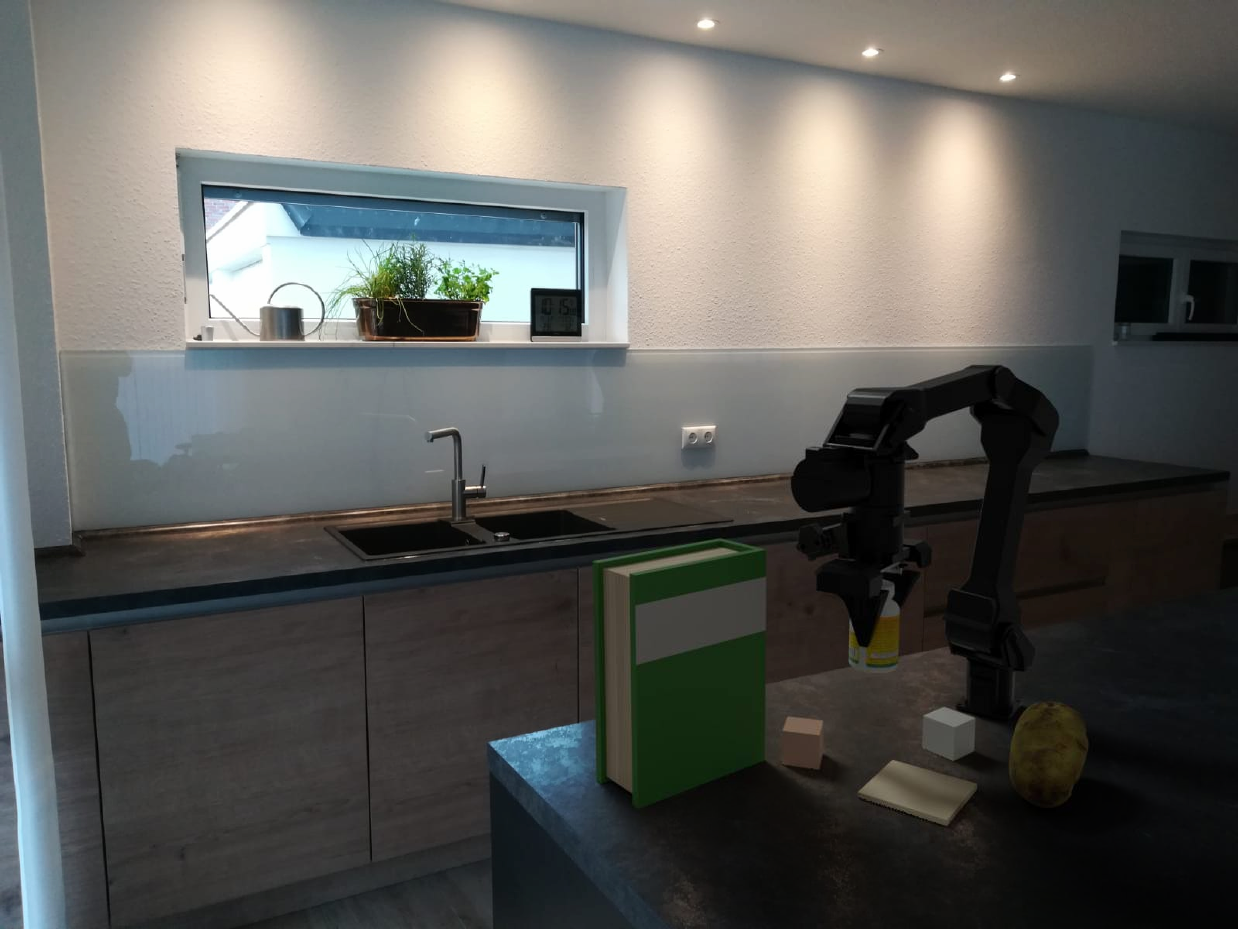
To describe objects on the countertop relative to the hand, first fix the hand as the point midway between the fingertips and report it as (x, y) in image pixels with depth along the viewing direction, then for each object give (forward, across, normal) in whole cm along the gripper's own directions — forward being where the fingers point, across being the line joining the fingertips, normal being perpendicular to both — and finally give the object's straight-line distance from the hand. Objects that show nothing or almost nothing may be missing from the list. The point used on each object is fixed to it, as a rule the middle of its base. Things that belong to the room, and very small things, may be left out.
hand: (874, 639), depth 100 cm
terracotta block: (+13, +7, -5) cm, 16 cm away
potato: (+13, -2, +18) cm, 22 cm away
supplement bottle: (+3, 0, 0) cm, 3 cm away
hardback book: (+13, +17, -14) cm, 26 cm away
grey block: (+13, -5, +7) cm, 16 cm away
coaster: (+13, +7, +8) cm, 17 cm away
